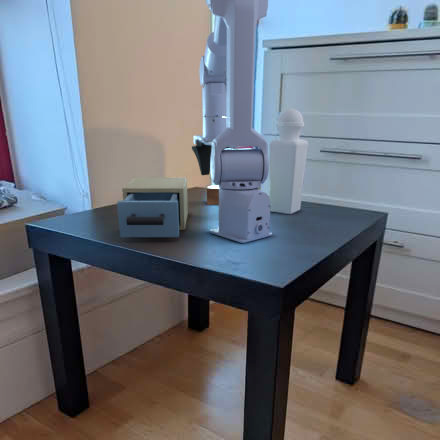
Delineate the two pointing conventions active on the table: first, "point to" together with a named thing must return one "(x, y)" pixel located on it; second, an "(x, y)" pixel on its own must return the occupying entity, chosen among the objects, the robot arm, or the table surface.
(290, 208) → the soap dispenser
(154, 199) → the drawer
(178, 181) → the drawer cabinet
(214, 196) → the block
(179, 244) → the table surface
